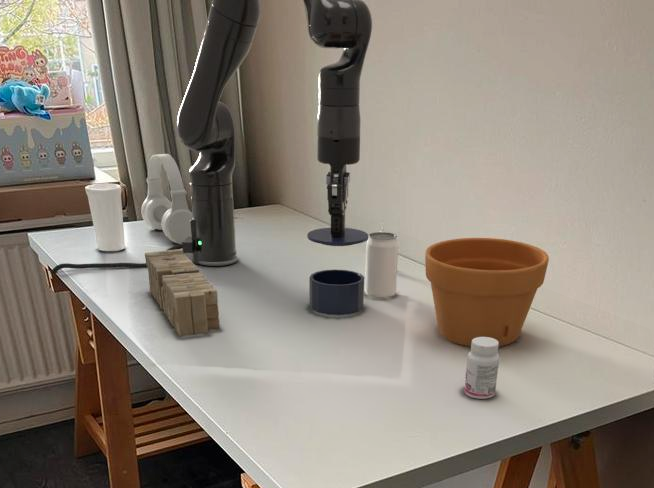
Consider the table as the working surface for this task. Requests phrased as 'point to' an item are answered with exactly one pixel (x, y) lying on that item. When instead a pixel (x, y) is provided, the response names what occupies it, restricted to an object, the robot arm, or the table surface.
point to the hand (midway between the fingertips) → (337, 233)
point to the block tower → (182, 292)
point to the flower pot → (483, 287)
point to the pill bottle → (482, 368)
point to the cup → (107, 215)
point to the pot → (336, 292)
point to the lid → (346, 239)
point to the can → (381, 264)
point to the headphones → (166, 201)
